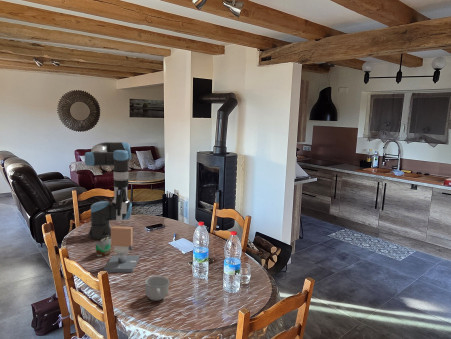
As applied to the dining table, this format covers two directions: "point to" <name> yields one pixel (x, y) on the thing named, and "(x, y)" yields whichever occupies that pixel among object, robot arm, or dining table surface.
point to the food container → (103, 246)
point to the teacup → (156, 287)
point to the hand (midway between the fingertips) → (121, 217)
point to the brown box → (122, 239)
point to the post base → (121, 263)
